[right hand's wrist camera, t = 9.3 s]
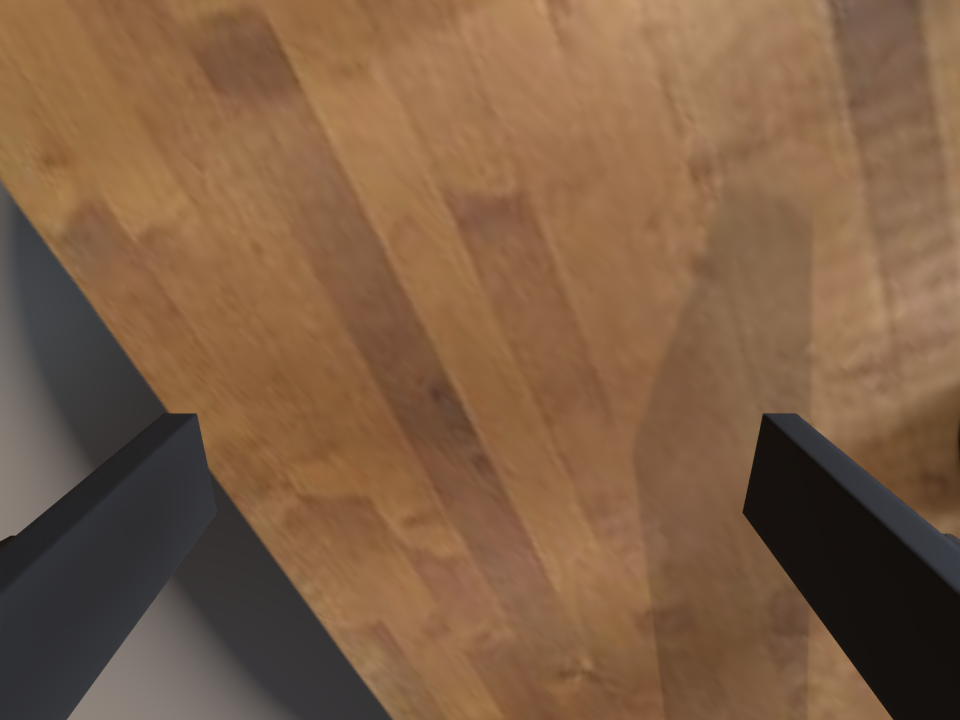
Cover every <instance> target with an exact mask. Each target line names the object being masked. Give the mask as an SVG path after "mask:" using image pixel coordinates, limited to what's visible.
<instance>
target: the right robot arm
mask: <svg viewBox="0 0 960 720" xmlns="http://www.w3.org/2000/svg"><path fill="white" fill-rule="evenodd" d="M959 458H960V445H959ZM216 514H217V509H216V504H215V499H214V494H213V489H212V484H211V479H210V475H209V470H208V465H207V460H206V455H205V451H204V446H203V441H202V436H201V431H200V426H199V422H198V417H197V414H163V415H161V416H160V417H159V418H158V419H157V420H155V421H154V422H153V423H152V424H151V425H149V426H148V427H147V428H146V429H144V430H143V431H142V432H141V433H140V434H139V435H137V436H136V437H135V438H134V439H132V440H131V441H130V442H129V443H128V444H126V445H125V446H124V447H123V448H122V449H120V450H119V451H118V452H117V453H115V454H114V455H113V456H112V457H111V458H109V459H108V460H107V461H106V462H105V463H103V464H102V465H101V466H100V467H99V468H97V469H96V470H95V471H94V472H93V473H91V474H90V475H89V476H88V477H86V478H85V479H84V480H83V481H82V482H80V483H79V484H78V485H77V486H76V487H74V488H73V489H72V490H71V491H70V492H68V493H67V494H66V495H65V496H63V497H62V498H61V499H60V500H59V501H57V502H56V503H55V504H54V505H53V506H51V507H50V508H49V509H48V510H47V511H45V512H44V513H43V514H42V515H40V516H39V517H38V518H37V519H36V520H34V521H33V522H32V523H31V524H30V525H28V526H27V527H26V528H25V529H23V530H22V531H21V532H20V533H19V534H17V535H16V536H9V537H8V538H6V539H4V540H2V541H0V720H67V718H68V717H69V716H70V714H71V713H72V712H73V710H74V709H75V707H76V706H77V705H78V703H79V702H80V701H81V699H82V698H83V696H84V695H85V694H86V692H87V691H88V690H89V688H90V687H91V685H92V684H93V683H94V681H95V680H96V679H97V677H98V676H99V675H100V673H101V672H102V670H103V669H104V668H105V666H106V665H107V664H108V662H109V661H110V659H111V658H112V657H113V655H114V654H115V652H116V651H117V650H118V648H119V647H120V646H121V644H122V643H123V642H124V640H125V639H126V637H127V636H128V635H129V633H130V632H131V631H132V629H133V628H134V626H135V625H136V624H137V622H138V621H139V620H140V618H141V617H142V616H143V614H144V613H145V611H146V610H147V609H148V607H149V606H150V604H151V603H152V602H153V600H154V599H155V598H156V596H157V595H158V594H159V592H160V591H161V589H162V588H163V587H164V585H165V584H166V583H167V581H168V580H169V578H170V577H171V576H172V574H173V573H174V572H175V570H176V569H177V567H178V566H179V565H180V563H181V562H182V560H183V559H184V558H185V556H186V555H187V554H188V552H189V551H190V550H191V548H192V547H193V545H194V544H195V543H196V541H197V540H198V539H199V537H200V536H201V535H202V533H203V532H204V530H205V529H206V528H207V526H208V525H209V523H210V522H211V521H212V519H213V518H214V517H215V515H216ZM743 514H744V515H745V517H746V518H747V519H748V521H749V522H750V524H751V525H752V526H753V528H754V529H755V530H756V532H757V533H758V535H759V536H760V537H761V539H762V540H763V541H764V543H765V544H766V545H767V547H768V548H769V550H770V551H771V552H772V554H773V555H774V556H775V558H776V559H777V561H778V562H779V563H780V565H781V566H782V567H783V569H784V570H785V572H786V573H787V574H788V576H789V577H790V578H791V580H792V581H793V583H794V584H795V585H796V587H797V588H798V589H799V591H800V592H801V594H802V595H803V596H804V598H805V599H806V600H807V602H808V603H809V605H810V606H811V607H812V609H813V610H814V611H815V613H816V614H817V616H818V617H819V618H820V620H821V621H822V622H823V624H824V625H825V626H826V628H827V629H828V631H829V632H830V633H831V635H832V636H833V637H834V639H835V640H836V642H837V643H838V644H839V646H840V647H841V648H842V650H843V651H844V653H845V654H846V655H847V657H848V658H849V659H850V661H851V662H852V664H853V665H854V666H855V668H856V669H857V670H858V672H859V673H860V675H861V676H862V677H863V679H864V680H865V681H866V683H867V684H868V686H869V687H870V688H871V690H872V691H873V692H874V694H875V695H876V696H877V698H878V699H879V701H880V702H881V703H882V705H883V706H884V707H885V709H886V710H887V712H888V713H889V714H890V716H891V717H892V718H893V720H960V539H958V538H957V537H955V536H953V535H951V534H941V533H940V532H939V531H938V530H937V529H935V528H934V527H933V526H932V525H930V524H929V523H928V522H927V521H926V520H924V519H923V518H922V517H921V516H920V515H918V514H917V513H916V512H915V511H914V510H912V509H911V508H910V507H909V506H907V505H906V504H905V503H904V502H903V501H901V500H900V499H899V498H898V497H897V496H895V495H894V494H893V493H892V492H891V491H889V490H888V489H887V488H886V487H884V486H883V485H882V484H881V483H880V482H878V481H877V480H876V479H875V478H874V477H872V476H871V475H870V474H869V473H868V472H866V471H865V470H864V469H863V468H861V467H860V466H859V465H858V464H857V463H855V462H854V461H853V460H852V459H851V458H849V457H848V456H847V455H846V454H845V453H843V452H842V451H841V450H840V449H838V448H837V447H836V446H835V445H834V444H832V443H831V442H830V441H829V440H828V439H826V438H825V437H824V436H823V435H822V434H820V433H819V432H818V431H817V430H816V429H814V428H813V427H812V426H811V425H809V424H808V423H807V422H806V421H805V420H803V419H802V418H801V417H800V416H799V415H797V414H763V417H762V422H761V426H760V431H759V436H758V441H757V446H756V451H755V455H754V460H753V465H752V470H751V475H750V479H749V484H748V489H747V494H746V499H745V504H744V508H743Z"/></svg>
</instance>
